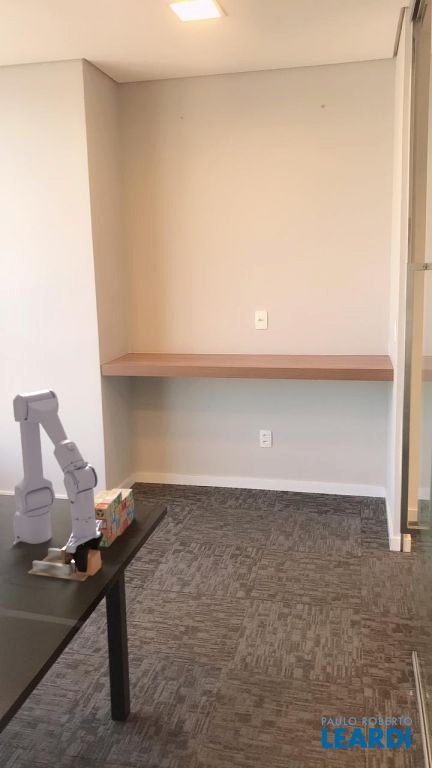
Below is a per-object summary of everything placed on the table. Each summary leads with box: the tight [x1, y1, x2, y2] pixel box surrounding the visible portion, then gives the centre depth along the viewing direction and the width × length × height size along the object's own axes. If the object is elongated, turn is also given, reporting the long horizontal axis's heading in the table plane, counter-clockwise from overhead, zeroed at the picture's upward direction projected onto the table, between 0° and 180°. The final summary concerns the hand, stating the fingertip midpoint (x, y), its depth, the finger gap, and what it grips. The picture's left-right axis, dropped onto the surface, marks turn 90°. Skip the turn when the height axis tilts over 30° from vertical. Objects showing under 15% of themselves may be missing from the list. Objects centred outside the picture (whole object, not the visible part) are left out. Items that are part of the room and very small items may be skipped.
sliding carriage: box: [60, 545, 77, 572], centre depth 157 cm, size 4×5×6 cm
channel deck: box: [27, 547, 103, 582], centre depth 158 cm, size 16×10×4 cm, turn 73°
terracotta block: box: [76, 550, 102, 576], centre depth 156 cm, size 4×4×4 cm
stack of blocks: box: [94, 488, 136, 548], centre depth 178 cm, size 21×6×12 cm, turn 168°
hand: (87, 566), depth 156 cm, fingers closed on terracotta block, 4 cm apart
